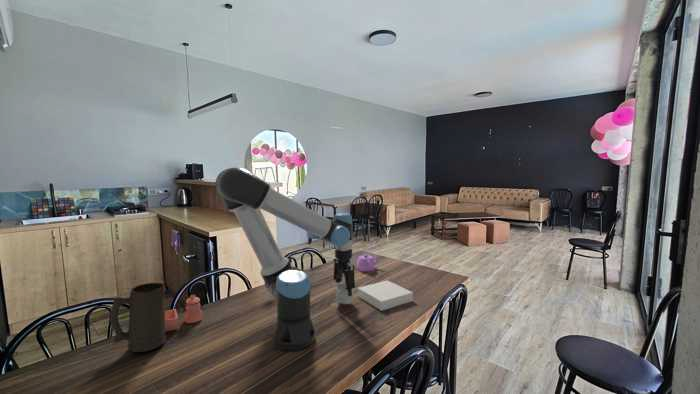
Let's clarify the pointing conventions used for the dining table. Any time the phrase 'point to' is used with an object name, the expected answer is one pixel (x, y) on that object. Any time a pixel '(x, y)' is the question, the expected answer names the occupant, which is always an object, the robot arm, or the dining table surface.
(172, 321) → the pottery
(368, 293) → the plinth
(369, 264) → the teapot
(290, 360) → the dining table surface
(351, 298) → the die
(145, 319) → the beer stein
